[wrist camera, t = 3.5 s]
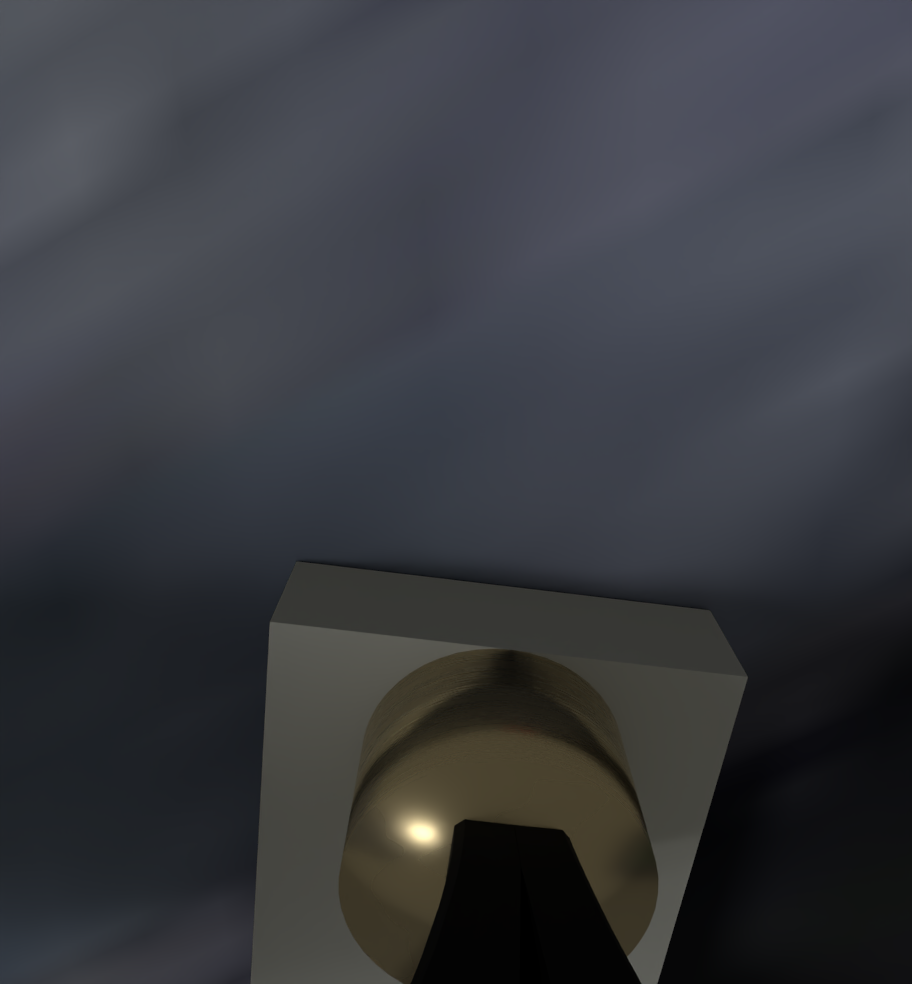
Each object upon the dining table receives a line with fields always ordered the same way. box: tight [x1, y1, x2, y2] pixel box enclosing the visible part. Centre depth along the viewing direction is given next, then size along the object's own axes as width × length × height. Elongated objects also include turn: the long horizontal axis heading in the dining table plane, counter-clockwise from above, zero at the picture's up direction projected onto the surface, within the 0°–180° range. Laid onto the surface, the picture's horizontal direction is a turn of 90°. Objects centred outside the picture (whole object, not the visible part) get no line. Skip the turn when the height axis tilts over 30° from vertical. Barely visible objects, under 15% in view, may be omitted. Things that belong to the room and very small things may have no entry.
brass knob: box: [339, 649, 658, 984], centre depth 12 cm, size 4×4×4 cm
